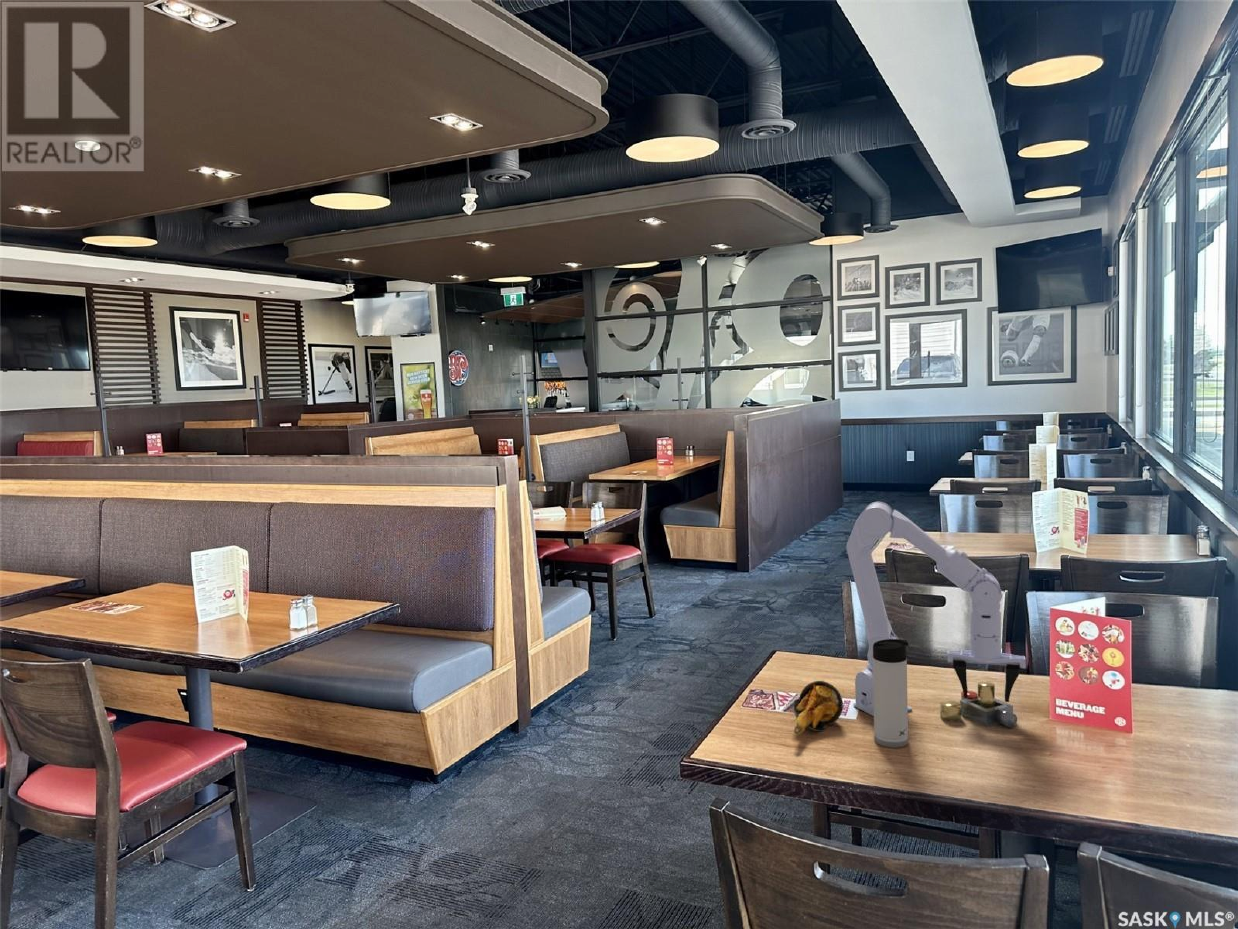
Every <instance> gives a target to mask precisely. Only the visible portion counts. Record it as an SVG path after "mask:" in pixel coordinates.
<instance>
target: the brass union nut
mask: <svg viewBox="0 0 1238 929" xmlns="http://www.w3.org/2000/svg"><path fill="white" fill-rule="evenodd" d="M939 705H940V707H939V709H940V712H939V714H940V719H941V720H943V721H944V722H950V723H958V722H961V721H962V715H961V704H960V702H957V701H955V700H954V701H953V700H943V701H940V704H939Z"/></svg>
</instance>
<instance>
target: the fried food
mask: <svg viewBox="0 0 1238 929" xmlns="http://www.w3.org/2000/svg"><path fill="white" fill-rule="evenodd" d="M798 698H799V699H795V700H793V702H792V708H793V713H794V716H795V718H796V721H795V723H794V729H793V733H794V734H795V736H798V735H800V734H802V733H803V732H805V730H806V729H808V730H810V731H814V732H823V731H824V730H825V727H827V726H830V725H832V724H834V723H836V722H837V721H838V720H839V718H840V717H841V715H842V713H843V708H844V701H843V697H842V695H841V693H840V691H839V690H838V689H837V688H836V687H835V686H834V685H833V684H831V683H829V682H828V681H827V682H826V681H824V680H816V681H812V682H810V683H808V684H807V685H805V687H803V689H802V690H801V692H800V694H799V696H798Z"/></svg>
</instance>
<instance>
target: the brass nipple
mask: <svg viewBox="0 0 1238 929" xmlns="http://www.w3.org/2000/svg"><path fill="white" fill-rule="evenodd" d="M995 688H996V685H995V684H994V683H992V682H990V681H979V682H977V694H978V705H979V706H981V707H983V708H986V709H988V708H992V707H995V699H996V697H995V696H996V695H995V694H996V692H995V690H996V689H995Z"/></svg>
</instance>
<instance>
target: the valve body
mask: <svg viewBox="0 0 1238 929" xmlns="http://www.w3.org/2000/svg"><path fill="white" fill-rule="evenodd" d="M960 697H961V700H959V703H960V704H961V716H962V717H965V718H967V719H969V720H971V721H974V722H976V723H978V724H980V725H983V726H984V727H990V726H995V725H998V724H1001V725H1003V726H1005V727H1008V728H1010V729H1011V728H1014V727H1016V725H1017V723H1018V717H1017V715H1016V714H1015V713H1014V705H1012V704H1010V703H1009V702H1005V701H1004V700H1003V701H1002V700H1000V699H997V698H995V707H992V708H988V709H986V708H983V707H981V706H979V705H978V692H975V691H972V690H968V698H964V693H963V691H961V692H960Z"/></svg>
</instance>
